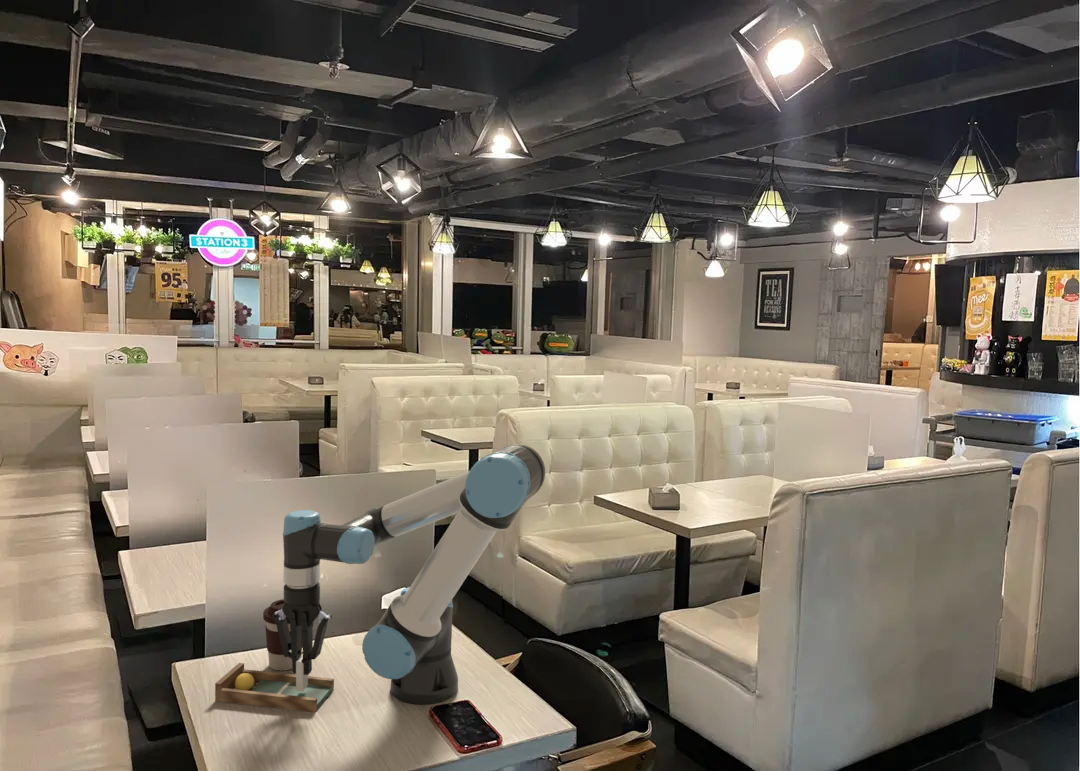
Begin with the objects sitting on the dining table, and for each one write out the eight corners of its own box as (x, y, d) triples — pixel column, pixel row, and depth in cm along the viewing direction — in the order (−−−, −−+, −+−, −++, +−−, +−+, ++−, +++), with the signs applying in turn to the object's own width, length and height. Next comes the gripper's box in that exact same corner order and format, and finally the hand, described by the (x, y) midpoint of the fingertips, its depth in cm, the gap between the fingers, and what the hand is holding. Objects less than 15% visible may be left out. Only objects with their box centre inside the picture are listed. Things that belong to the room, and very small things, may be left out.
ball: (253, 667, 176) (238, 672, 176) (244, 675, 172) (228, 680, 172) (260, 684, 176) (244, 689, 176) (250, 692, 172) (235, 697, 172)
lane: (333, 689, 176) (333, 672, 176) (315, 712, 166) (315, 694, 166) (239, 679, 179) (239, 662, 179) (215, 701, 169) (215, 683, 169)
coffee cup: (275, 653, 193) (275, 594, 192) (313, 657, 192) (314, 598, 190) (255, 671, 183) (255, 609, 182) (295, 676, 182) (296, 613, 181)
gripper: (337, 579, 172) (337, 682, 175) (281, 575, 174) (281, 677, 176) (323, 591, 165) (323, 698, 167) (264, 586, 167) (265, 693, 169)
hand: (302, 687), depth 172 cm, fingers closed
